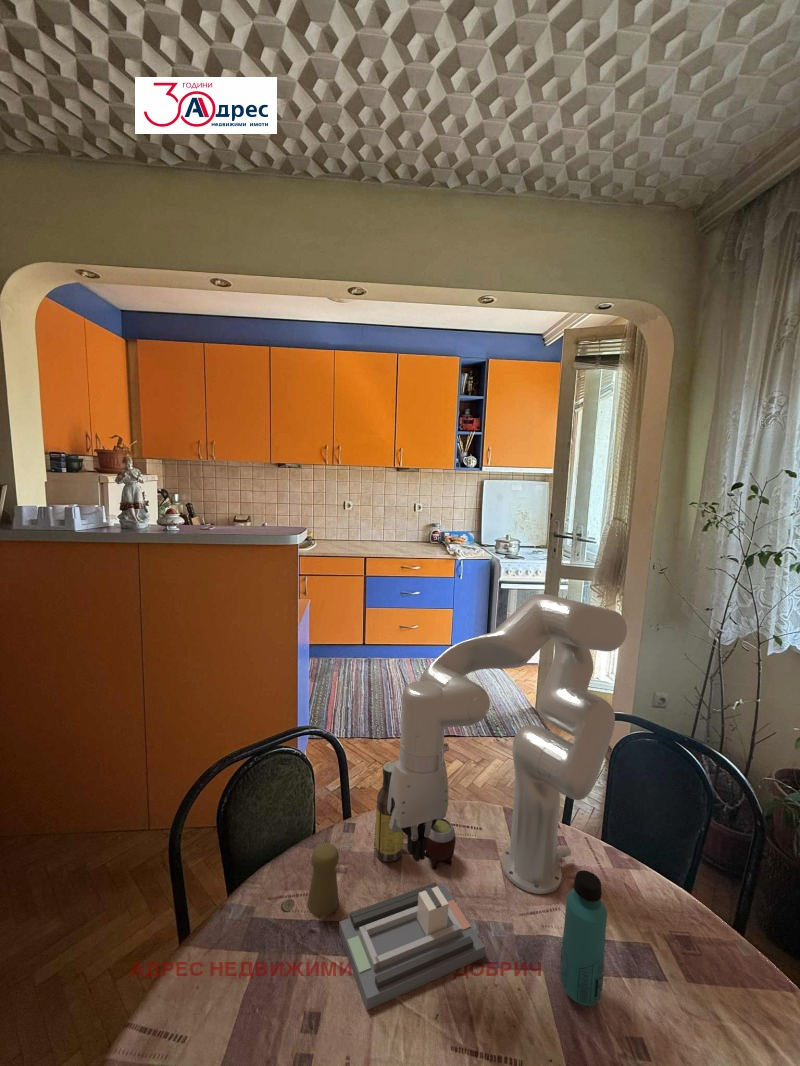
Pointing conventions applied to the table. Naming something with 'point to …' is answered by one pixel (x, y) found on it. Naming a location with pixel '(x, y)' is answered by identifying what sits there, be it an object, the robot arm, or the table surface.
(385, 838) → the sauce bottle
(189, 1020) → the table surface
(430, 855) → the mate gourd
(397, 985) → the panel
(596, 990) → the beverage bottle
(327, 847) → the olive brown pawn
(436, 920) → the toggle
